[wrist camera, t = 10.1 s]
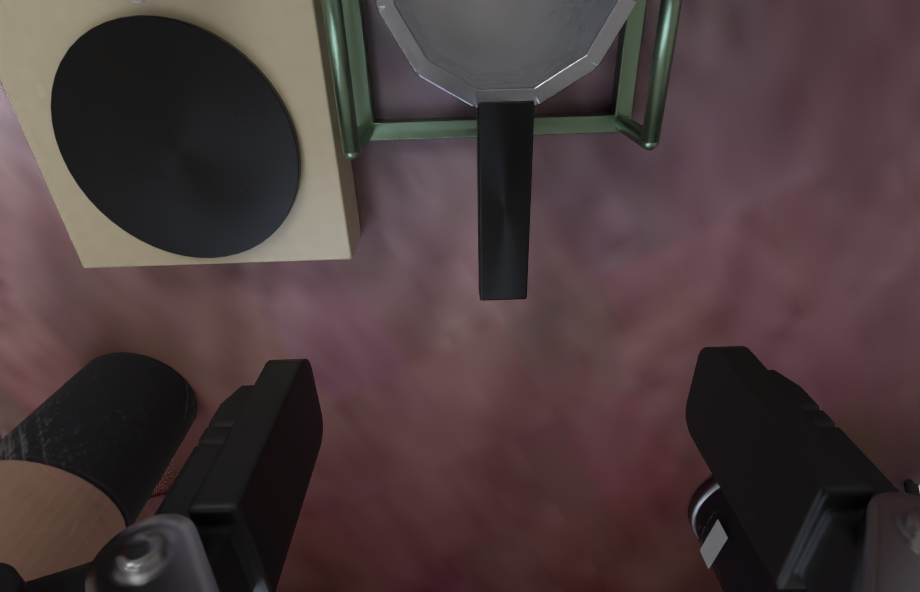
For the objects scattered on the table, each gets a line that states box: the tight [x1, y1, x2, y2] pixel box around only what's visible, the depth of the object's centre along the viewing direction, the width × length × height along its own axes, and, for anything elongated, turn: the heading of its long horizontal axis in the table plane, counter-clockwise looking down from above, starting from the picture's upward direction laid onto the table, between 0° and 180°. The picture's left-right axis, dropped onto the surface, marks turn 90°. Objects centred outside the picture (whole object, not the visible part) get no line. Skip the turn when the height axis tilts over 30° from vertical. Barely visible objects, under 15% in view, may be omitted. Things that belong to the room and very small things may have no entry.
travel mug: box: [0, 353, 196, 582], centre depth 23 cm, size 8×8×20 cm
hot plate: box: [0, 0, 361, 268], centre depth 21 cm, size 19×13×3 cm
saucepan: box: [376, 0, 637, 300], centre depth 20 cm, size 8×16×6 cm, turn 2°
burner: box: [51, 15, 301, 258], centre depth 21 cm, size 10×10×1 cm
